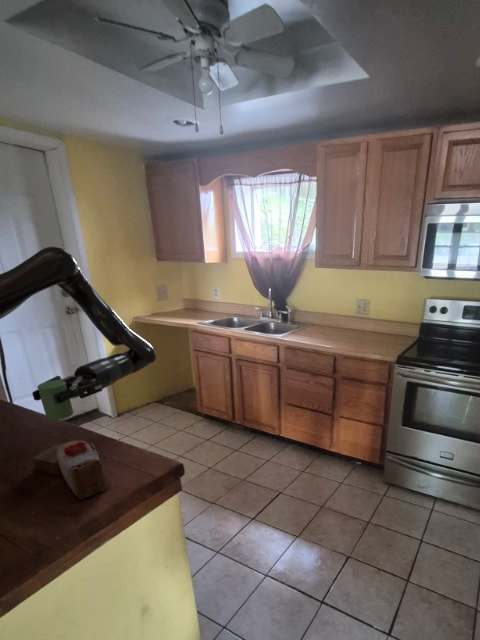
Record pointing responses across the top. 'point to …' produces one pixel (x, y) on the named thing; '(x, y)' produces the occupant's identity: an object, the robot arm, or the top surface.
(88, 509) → the top surface
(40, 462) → the walnut block
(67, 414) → the green tin
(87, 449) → the food item
